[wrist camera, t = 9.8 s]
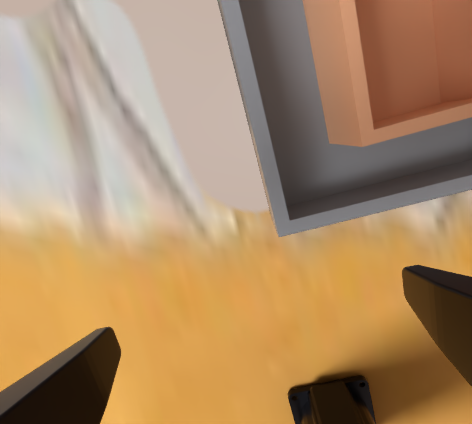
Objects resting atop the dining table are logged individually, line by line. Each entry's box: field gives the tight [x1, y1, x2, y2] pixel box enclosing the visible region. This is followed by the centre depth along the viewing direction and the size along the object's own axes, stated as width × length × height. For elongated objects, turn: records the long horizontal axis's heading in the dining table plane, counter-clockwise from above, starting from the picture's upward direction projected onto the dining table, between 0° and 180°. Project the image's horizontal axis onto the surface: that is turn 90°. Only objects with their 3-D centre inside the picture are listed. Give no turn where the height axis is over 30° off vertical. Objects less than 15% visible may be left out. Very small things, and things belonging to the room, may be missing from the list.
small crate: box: [302, 0, 472, 147], centre depth 14 cm, size 10×7×5 cm
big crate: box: [217, 0, 472, 237], centre depth 15 cm, size 18×16×4 cm
